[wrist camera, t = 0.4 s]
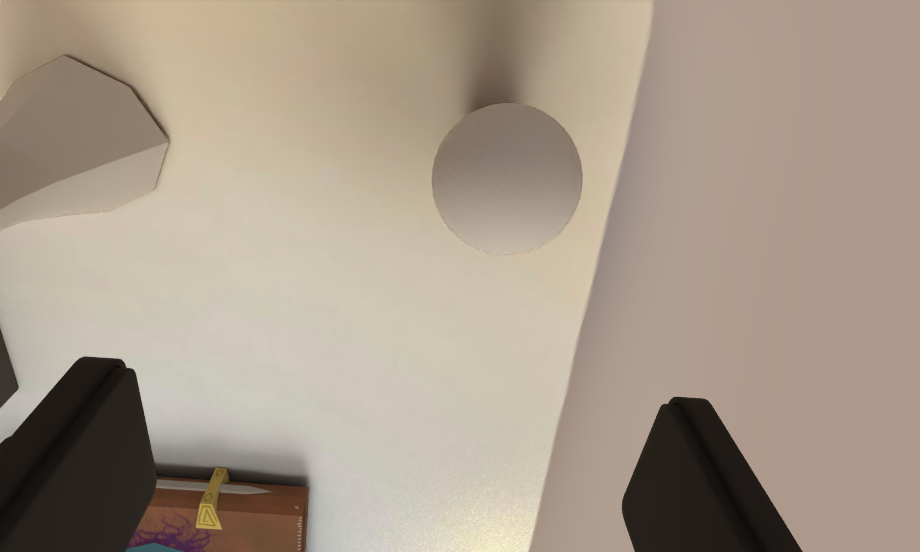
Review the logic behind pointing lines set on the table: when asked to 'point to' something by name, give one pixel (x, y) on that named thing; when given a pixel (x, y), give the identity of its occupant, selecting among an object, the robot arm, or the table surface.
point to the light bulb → (507, 179)
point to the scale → (6, 375)
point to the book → (222, 517)
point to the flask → (73, 144)
